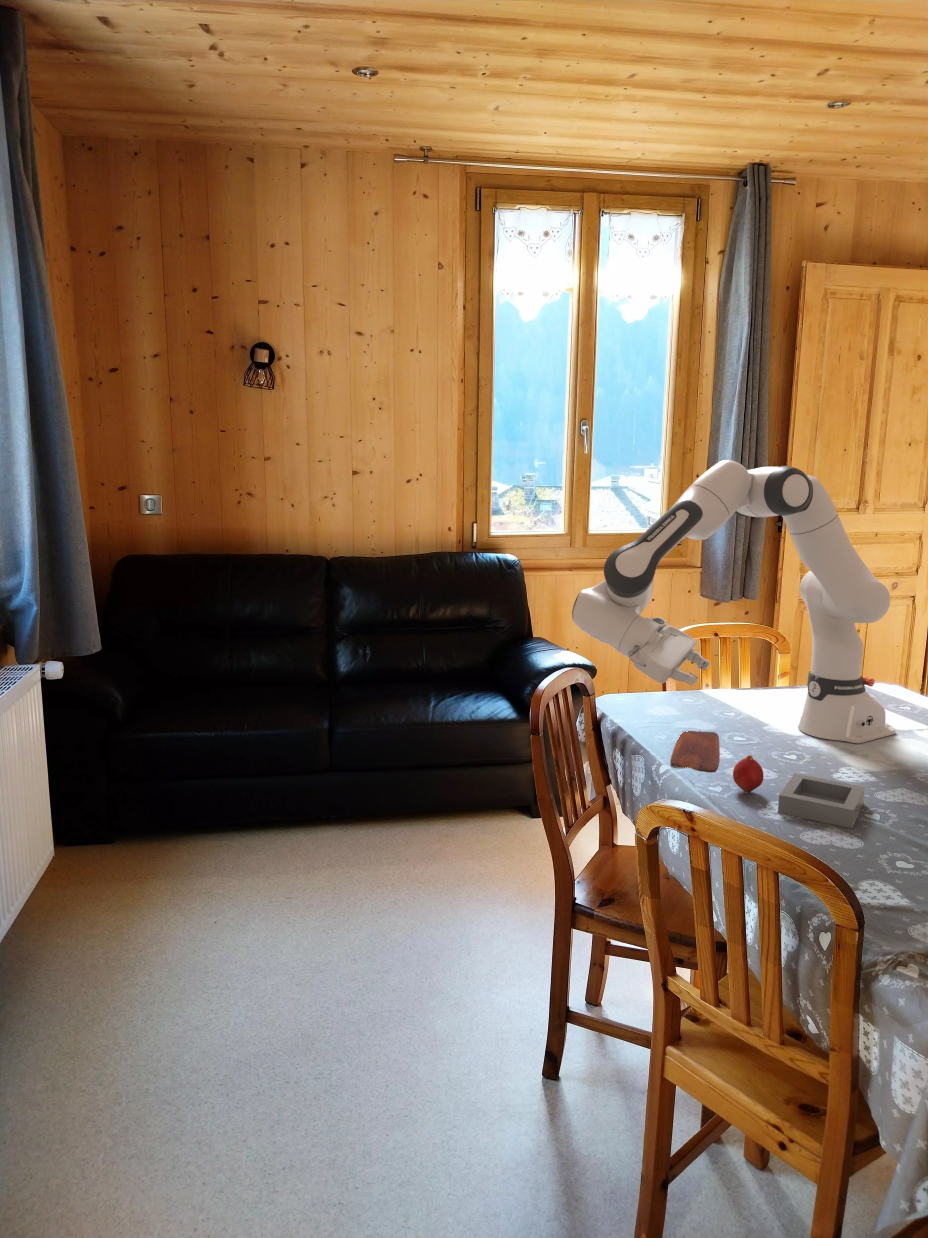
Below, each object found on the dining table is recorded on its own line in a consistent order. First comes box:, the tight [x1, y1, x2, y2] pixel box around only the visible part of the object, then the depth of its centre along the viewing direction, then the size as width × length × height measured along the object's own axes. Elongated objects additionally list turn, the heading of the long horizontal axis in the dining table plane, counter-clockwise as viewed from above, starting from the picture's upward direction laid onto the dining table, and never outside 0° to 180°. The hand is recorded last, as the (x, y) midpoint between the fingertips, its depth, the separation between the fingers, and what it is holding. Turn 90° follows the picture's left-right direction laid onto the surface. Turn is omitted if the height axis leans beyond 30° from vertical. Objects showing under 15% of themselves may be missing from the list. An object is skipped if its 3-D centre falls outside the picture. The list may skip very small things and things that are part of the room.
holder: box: [777, 772, 866, 829], centre depth 168 cm, size 13×13×4 cm
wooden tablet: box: [669, 730, 721, 773], centre depth 200 cm, size 27×10×2 cm, turn 161°
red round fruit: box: [732, 754, 764, 794], centre depth 175 cm, size 6×6×8 cm
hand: (701, 674), depth 178 cm, fingers open, 8 cm apart
